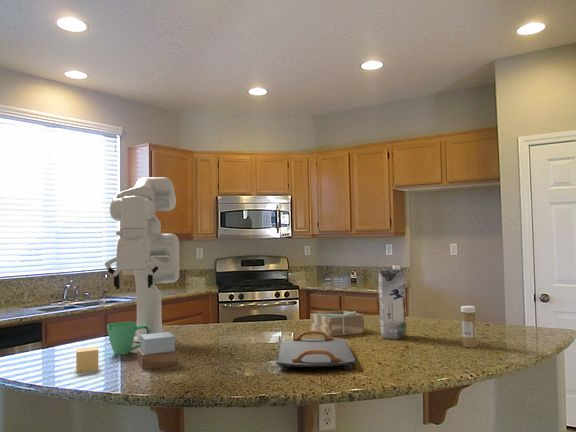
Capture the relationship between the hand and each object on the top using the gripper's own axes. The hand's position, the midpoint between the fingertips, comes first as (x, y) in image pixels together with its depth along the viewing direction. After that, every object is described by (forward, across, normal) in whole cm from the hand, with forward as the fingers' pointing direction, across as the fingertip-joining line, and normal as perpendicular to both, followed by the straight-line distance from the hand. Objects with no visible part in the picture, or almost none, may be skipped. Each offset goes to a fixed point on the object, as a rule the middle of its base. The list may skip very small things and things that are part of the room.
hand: (133, 288), depth 153 cm
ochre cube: (+24, -13, -3) cm, 27 cm away
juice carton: (+23, +93, +10) cm, 97 cm away
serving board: (+24, +56, -12) cm, 62 cm away
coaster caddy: (+23, +77, +29) cm, 86 cm away
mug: (+23, -3, +16) cm, 29 cm away
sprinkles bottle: (+24, +110, -14) cm, 113 cm away
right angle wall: (+23, +77, +29) cm, 86 cm away
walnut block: (+24, +7, -3) cm, 25 cm away
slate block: (+19, +7, -3) cm, 21 cm away
